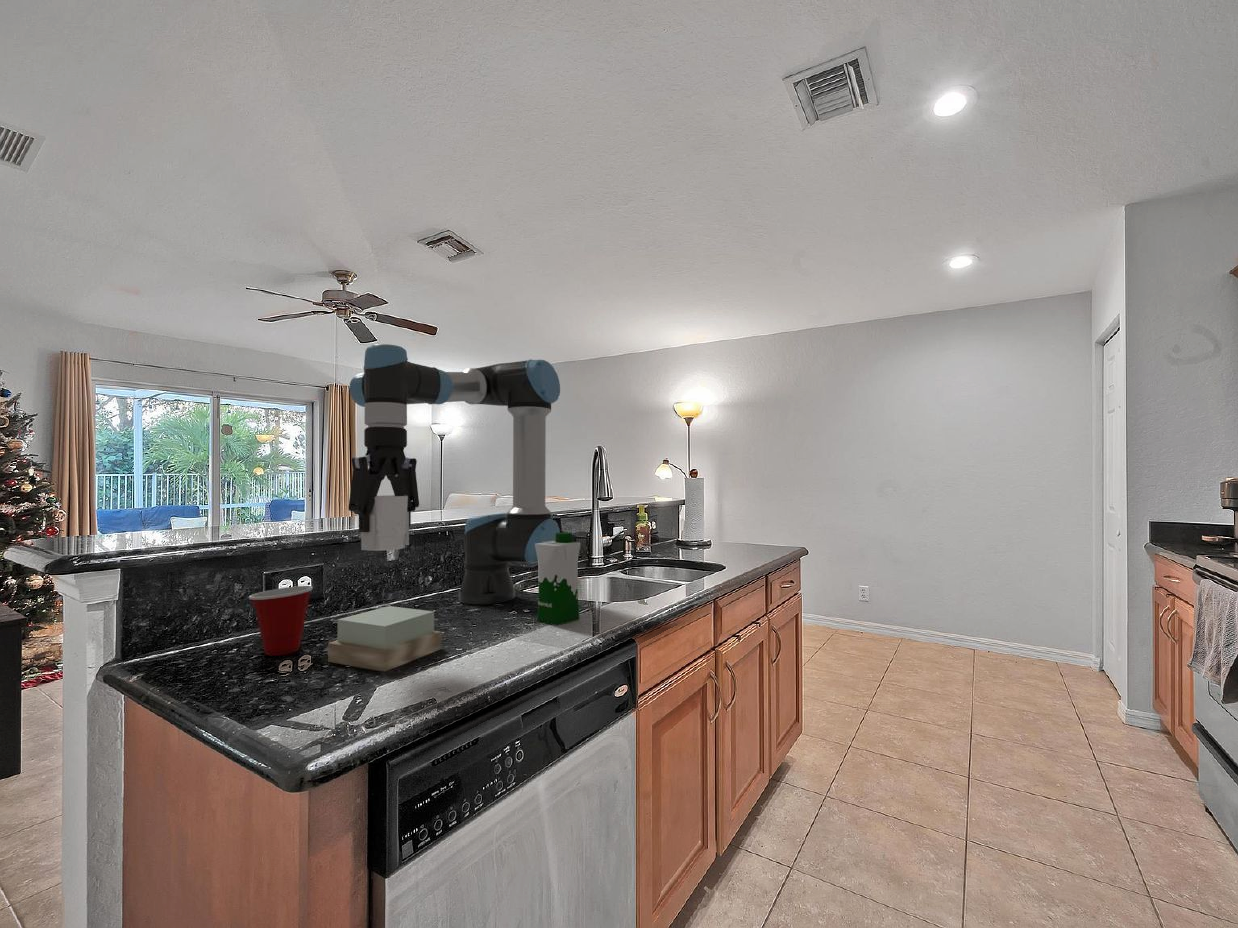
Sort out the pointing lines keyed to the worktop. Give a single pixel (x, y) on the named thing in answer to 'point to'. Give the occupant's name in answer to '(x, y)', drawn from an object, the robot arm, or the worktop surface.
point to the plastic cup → (281, 618)
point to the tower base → (383, 653)
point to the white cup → (390, 522)
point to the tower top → (385, 627)
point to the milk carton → (558, 580)
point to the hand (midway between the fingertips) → (385, 547)
